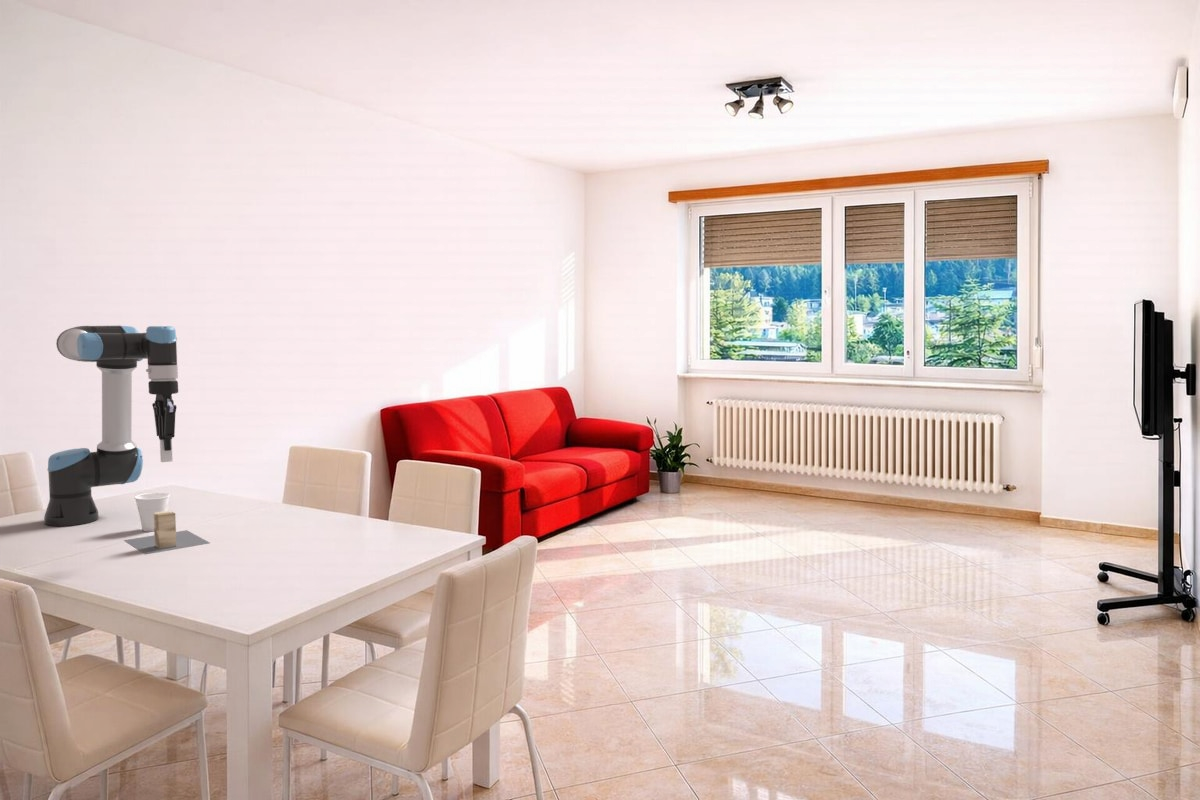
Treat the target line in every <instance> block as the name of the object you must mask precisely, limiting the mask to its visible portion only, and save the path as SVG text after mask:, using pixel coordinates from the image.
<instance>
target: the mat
mask: <svg viewBox="0 0 1200 800" xmlns="http://www.w3.org/2000/svg"><path fill="white" fill-rule="evenodd" d="M123 541H124V542H125V543H127V544H129V545H130V546H132V547H133V548H135V549H136V550H138V551H139V552H140V553H142V554H144V555H151V554H156V553H157V554H158V553H162V552H163V553H164V552H168V551H173V550H178V549H185V548H190V547H196V546H202V545H208V544H209V545H210V544H211V542H209V541H208V540H206V539H204V538H202V537H200V536H199V535H197V534H195V533H193V532H192V531H189V530H188V529H185V530H179V531H176V547H170V548H165V549H159V548H157V547H155V537H154V535H150V536H149V535H148V536H144V537H143V536H142V537H136V538H129V539H124V540H123Z"/></svg>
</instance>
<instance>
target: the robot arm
mask: <svg viewBox="0 0 1200 800" xmlns="http://www.w3.org/2000/svg"><path fill="white" fill-rule="evenodd" d="M177 341H178V338H177V334H176V328H175V327H173V326H169V325H167V326H164V325H163V326H161V325H159V326H158V325H153V326H152V325H150V326H147V327H146V330H145V332H139V331H138V329H136V327H134V326H129V325H128V326H127V325H79V326H74V327H70V328H67V329H66V330H64V331H62V332H60V333H59V335H58V336H57V339H56V349H57V351H58V352H59V354H60V355H61V356H63V358H66V359H69V360H72V361H75V362H85V363H89V362H90V363H96V365H95V366H96V368H97V369H99V370H100V371H101V441H100V442H98V444H96V451H93V452H92V451H90V449H89V448H87V447H86V448H85V447H80V448H72V449H65V450H61V451H58V452H55V453H53V454H51V455H50V456H49V457H48V459H47V472H48V474H47V475H48V489H49V490H48V491H49V501H48V504H47V507H46V510H45V512H44V517H43V520H44V522H43V523H44V525H47V526H53V527H68V526H76V525H77V526H78V525H83V524H87V523H92V522H95V521H97V520H99V511H98V508H97V505H96V503H95V501H94V499H93V496H92V488H95V487H97V488H98V487H105V486H113V485H114V486H116V485H125V484H130V483H134V482H136V481H137V480H139V478H140V477H141V475H142V470H143V465H144V458H143V452H142V450H141V449H140V448H138V447H137V444H136V443H135V442H134V441H133V439H132V410H133V409H132V408H133V407H132V405H133V403H132V402H133V401H132V397H133V395H132V382H133V381H132V378H133V376H132V375H133V371H134V370H135V369H137V367H138V362H141V361H142V360H144V359H146V360H147V368H146V369H145V372H147V376H148V380H150V381H148V383H147V384H148V394H149V395H155V400H154V402H153V403H152V410H153V414H154V416H153V417H154V423H155V432H156V436H157V437H158V440H159V449H160V450H159V454H160V463H169V462H173V444H172V443H173V441H172V439H173V438H175V433H176V432H175V431H176V428H175V427H176V412H177V404H174V400H173V397H172V395H173V394H178V393H179V381H178V380H177V379H178V378H179V372H178V371H179V369H178V368H179V367H178V356H177V355H178V354H177V353H178V350H177V349H178V348H177V347H178V346H177Z"/></svg>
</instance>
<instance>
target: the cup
mask: <svg viewBox="0 0 1200 800" xmlns="http://www.w3.org/2000/svg"><path fill="white" fill-rule="evenodd" d="M170 495H171V494H170V493H167V492H149V493H148V492H147V493H142V494H138V495H135V496H134V499H135V502H136V507H137V511H138V515H139V519H140V524H141V528H142V531H144V532H147V533H150V532H151V533H153V532H154V513H156V512H163V511H168V505H169V499H170Z"/></svg>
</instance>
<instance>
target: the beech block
mask: <svg viewBox="0 0 1200 800" xmlns="http://www.w3.org/2000/svg"><path fill="white" fill-rule="evenodd" d="M176 522H177V521H176V513H175V512H174V511H172V510H167V511H163V512H156V513H154V533H153V534H154V537H155V547H157V548H159V549H165V548H170V547H176V532H177V528H176V527H177V526H176V525H177V524H176Z"/></svg>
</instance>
